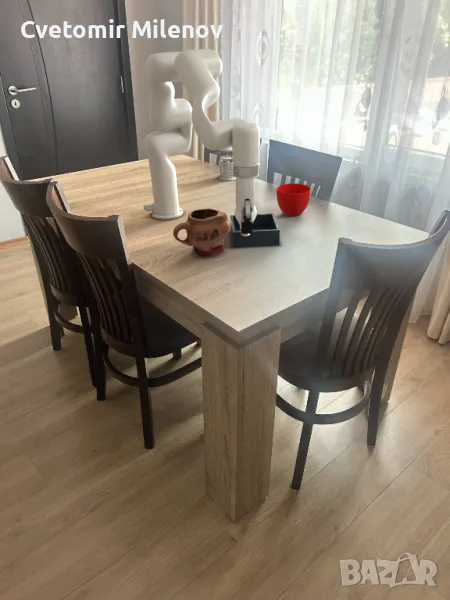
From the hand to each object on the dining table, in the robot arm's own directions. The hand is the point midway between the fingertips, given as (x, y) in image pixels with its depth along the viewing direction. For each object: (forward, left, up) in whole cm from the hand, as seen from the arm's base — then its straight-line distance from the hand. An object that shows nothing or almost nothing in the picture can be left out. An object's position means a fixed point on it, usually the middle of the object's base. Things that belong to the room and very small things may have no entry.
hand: (245, 228), depth 136 cm
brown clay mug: (-13, +6, -11) cm, 18 cm away
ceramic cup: (+22, +40, -11) cm, 47 cm away
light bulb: (0, 0, -3) cm, 3 cm away
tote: (+4, +17, -10) cm, 20 cm away
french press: (-2, +91, -11) cm, 91 cm away
